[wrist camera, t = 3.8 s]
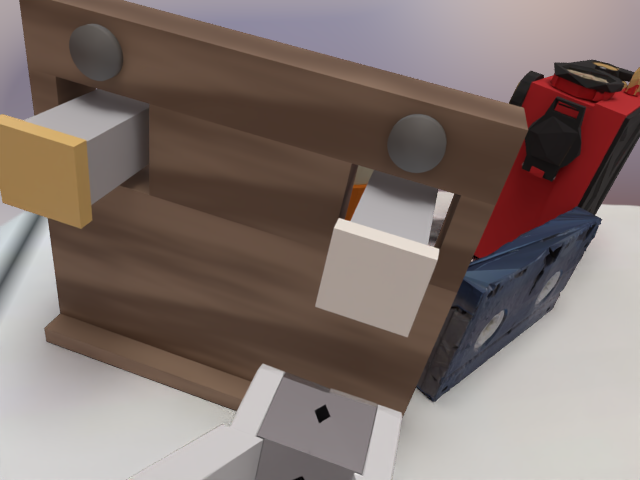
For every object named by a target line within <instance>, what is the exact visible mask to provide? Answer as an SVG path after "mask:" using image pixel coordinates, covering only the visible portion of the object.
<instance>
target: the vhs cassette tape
mask: <svg viewBox="0 0 640 480" xmlns="http://www.w3.org/2000/svg"><path fill="white" fill-rule="evenodd" d="M601 220H602V219H601V218H599V217H597V216H595V215H593V214H592V213H590V212H588V211H586V210H584V209H582V208H580V207H577V206H576V207H574V208H573V209H572V210H570V211H568V212H566V213H564V214H560V215H559V216H557V217H556V218H555V219H552V220H549V221H548V222H546V223H545V224H543V225H541V226H539V227H536V228H534V229H532V230H530V231H528V232H525V233H523V234H521V235H520V236H518V237H517V238H516V239H514V240H513V241H512V242H507V243H506V244H504V245H503V246H501V247H500V248H499V249H498V250H496V251H495V252H493V253H491V254H490V255H488V256H485V257H482V258H479V259H477V260H475V261H473V262H471V263H470V265H469V267H468V269H467V271H466V274H465V276H464V278H463V281H462V283H461V285H460V287H459V290H458V292H457V294H456V297H455V299H454V301H453V303H452V306H451V308H450V310H449V313H448V315H447V317H446V319H445V322H444V324H443V326H442V329H441V331H440V333H439V335H438V338H437V340H436V342H435V345H434V347H433V349H432V351H431V354H430V356H429V358H428V361H427V363H426V365H425V367H424V370H423V372H422V374H421V377H420V379H419V381H418V383H417V387H418V388H419V389H420V390H421V391H422V392H424V393H426V394H427V395H428V396H429V397H431V399H432V401H436V400H437V399H438V398H439V397H440V396H442V395H443V394H444V393H446V392H447V391H449V390H450V388H452V387H454V386H455V385H456V384H458V383H459V382H460V381H461V380H463V379H464V378H465V377H466V376H468V375H469V374H470V373H472V372H473V371H474V370H476V369H477V368H478V367H479V366H481V365H482V364H483V363H484V362H486V361H487V360H488V359H489V358H491V357H492V356H493V355H495V354H496V353H497V352H498V351H500V350H501V349H502V348H503V347H505V346H506V345H507V344H509V343H510V342H511V341H512V340H514V339H515V338H516V337H518V336H519V335H520V334H521V333H523V332H524V331H525V330H527V329H528V328H529V327H530V326H532V325H533V324H534V323H535V322H537V321H538V320H539V319H540V318H542V317H543V316H544V315H545V314H547V313H548V312H549V311H550V310H552V309H553V307H554V305H555V303H556V301H557V299H558V297H559V296H560V292H561V291H562V290H563V289H564V287H565V286H566V284H567V282H568V280H569V279H570V277H571V275H572V273H573V272H574V270H575V268H576V266H577V264H578V263H579V261H580V259H581V258H582V256H583V254H584V251H586V248H587V247H588V245H589V244H590V242H591V240H592V239H593V238H594V237H595V234H596V232H597V229H598V227H599V226H598V225H600V224H601Z"/></svg>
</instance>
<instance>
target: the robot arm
mask: <svg viewBox="0 0 640 480" xmlns="http://www.w3.org/2000/svg"><path fill="white" fill-rule="evenodd" d="M401 423H402V413H401V412H398V411H395V410H393V409H390V408H387V407H384V406H381V405H377V403H374V402H371V401H368V400H365V399H362V398H359V397H356V396H353V395H350V394H347V393H344V392H341V391H338V390H335V389H332V388H331V389H330V388H327V387H324V386H322V385H319V384H317V383H314V382H311V381H309V380H306V379H303V378H301V377H298V376H295V375H293V374H290V373H288V372H284V371H282V370H279V369H276V368H274V367H271V366H268V365H265V364H262V365H261V366H260V367H259V369H258V370H257V372H256V374H255V376H254V378H253V380H252V382H251V384H250V386H249V388H248V390H247V392H246V394H245V396H244V398H243V400H242V402H241V404H240V406H239V408H238V410H237V412H236V414H235V416H234V417H233V419H232V421H231V423H230V425H229V426H227V425H224V424H221V425H220V426H218V427H216V428H214V429H213V430H211V431H209V432H207V433H206V434H204V435H202V436H201V437H199V438H197V439H195V440H194V441H192V442H190V443H189V444H187V445H185V446H183V447H182V448H180V449H178V450H176V451H175V452H173V453H171V454H170V455H168V456H166V457H164V458H163V459H161V460H159V461H157V462H156V463H154V464H152V465H151V466H149V467H147V468H145V469H144V470H142V471H140V472H139V473H137V474H135V475H133V476H132V477H130V478H128V479H126V480H392V478H393V472H394V466H395V460H396V454H397V447H398V441H399V435H400V429H401Z"/></svg>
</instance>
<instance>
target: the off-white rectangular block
mask: <svg viewBox="0 0 640 480" xmlns="http://www.w3.org/2000/svg"><path fill="white" fill-rule="evenodd" d="M437 193H438V189H437V188H434V187H431V186H427V185H424V184H420V183H417V182H413V181H410V180H407V179H403V178H400V177H396V176H393V175H390V174H386V173H383V172H379V171H376V170H374V171H373V173H372V175H371V177H370V180H369V182H368V184H367V186H366V188H365V190H364V193H363V195H362V197H361V199H360V201H359V203H358V206H357V208H356V210H355V212H354V214H353V216H352V219H351V221H347V220H344V219H341V218H339V219H338V221H337V223H336V225H335V227H334V229H333V234H332V238H331V242H330V246H329V250H328V254H327V259H326V263H325V267H324V271H323V275H322V279H321V284H320V288H319V292H318V296H317V300H316V304H315V307H318V308H321V309H324V310H327V311H330V312H333V313H336V314H339V315H342V316H345V317H348V318H351V319H354V320H357V321H360V322H363V323H366V324H369V325H372V326H375V327H378V328H381V329H384V330H387V331H390V332H393V333H396V334H399V335H402V336H405V337H408V335H409V332H410V330H411V327H412V325H413V322H414V319H415V317H416V314H417V312H418V309H419V307H420V304H421V302H422V299H423V296H424V294H425V291H426V289H427V286H428V284H429V281H430V279H431V276H432V273H433V271H434V268H435V266H436V263H437V261H438V255H439V249H438V248H435V247H432V246H428V241H429V235H430V230H431V225H432V219H433V214H434V209H435V203H436V198H437Z"/></svg>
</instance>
